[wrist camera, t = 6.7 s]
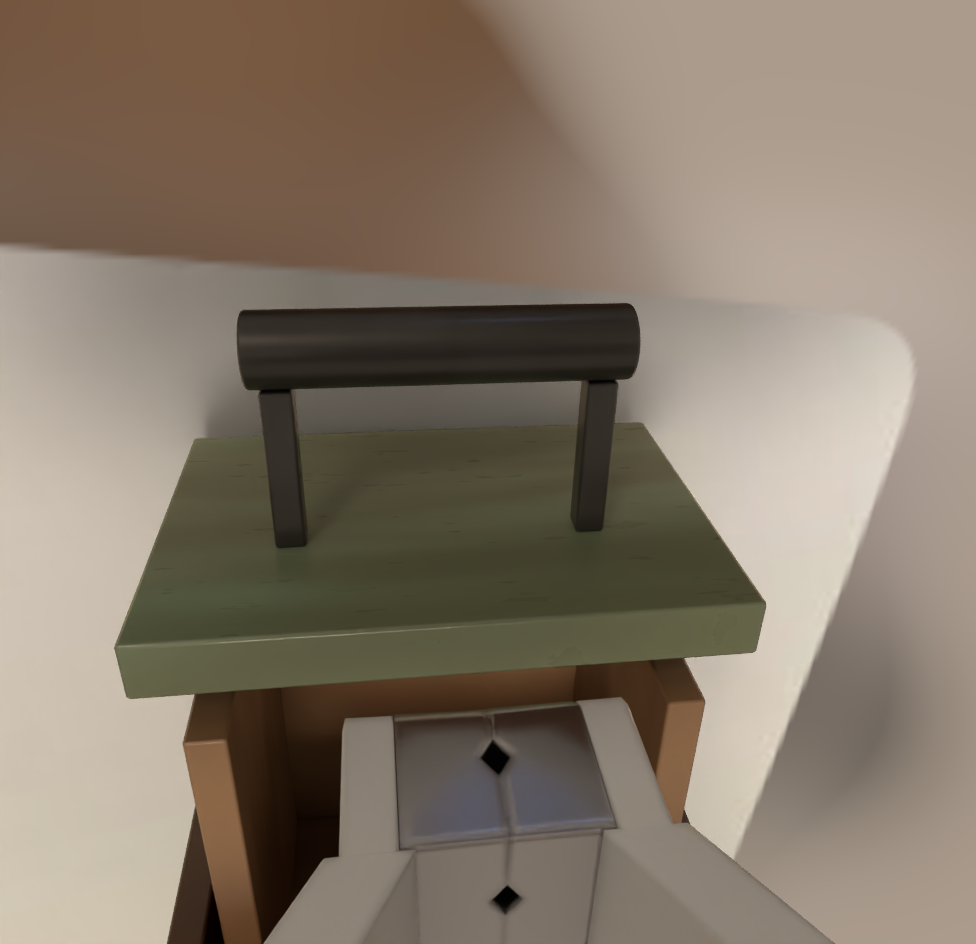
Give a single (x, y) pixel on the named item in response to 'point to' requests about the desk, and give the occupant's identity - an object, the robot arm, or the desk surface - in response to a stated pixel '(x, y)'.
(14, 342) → the desk surface
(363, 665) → the drawer
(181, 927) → the cabinet
